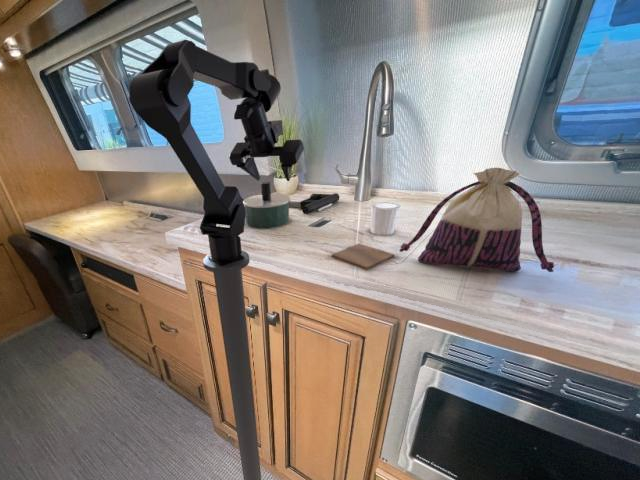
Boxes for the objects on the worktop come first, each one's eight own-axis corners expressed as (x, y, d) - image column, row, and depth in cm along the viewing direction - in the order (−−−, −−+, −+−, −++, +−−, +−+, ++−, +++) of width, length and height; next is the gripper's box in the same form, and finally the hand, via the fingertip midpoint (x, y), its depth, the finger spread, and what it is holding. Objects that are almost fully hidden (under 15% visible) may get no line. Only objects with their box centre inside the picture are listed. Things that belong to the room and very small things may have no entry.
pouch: (396, 267, 65) (414, 170, 55) (398, 252, 71) (415, 162, 61) (553, 284, 54) (610, 168, 44) (540, 265, 60) (588, 159, 50)
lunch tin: (263, 231, 91) (262, 210, 88) (238, 222, 102) (236, 202, 98) (297, 220, 97) (297, 200, 94) (270, 213, 107) (270, 194, 104)
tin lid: (261, 212, 88) (260, 190, 85) (234, 204, 99) (232, 184, 96) (300, 202, 94) (300, 180, 91) (270, 195, 105) (269, 176, 102)
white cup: (394, 227, 85) (399, 201, 81) (396, 236, 79) (401, 209, 76) (368, 227, 87) (371, 201, 83) (368, 235, 81) (371, 208, 78)
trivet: (366, 269, 65) (366, 267, 65) (331, 256, 72) (331, 254, 72) (394, 256, 69) (394, 254, 69) (358, 245, 76) (359, 243, 76)
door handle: (273, 203, 109) (311, 206, 98) (306, 191, 120) (343, 192, 110) (273, 213, 110) (312, 216, 100) (306, 200, 122) (343, 202, 111)
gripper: (305, 100, 70) (316, 159, 82) (237, 108, 79) (255, 160, 92) (288, 132, 66) (301, 189, 78) (218, 136, 75) (240, 186, 88)
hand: (273, 179), depth 84 cm, fingers open, 9 cm apart
